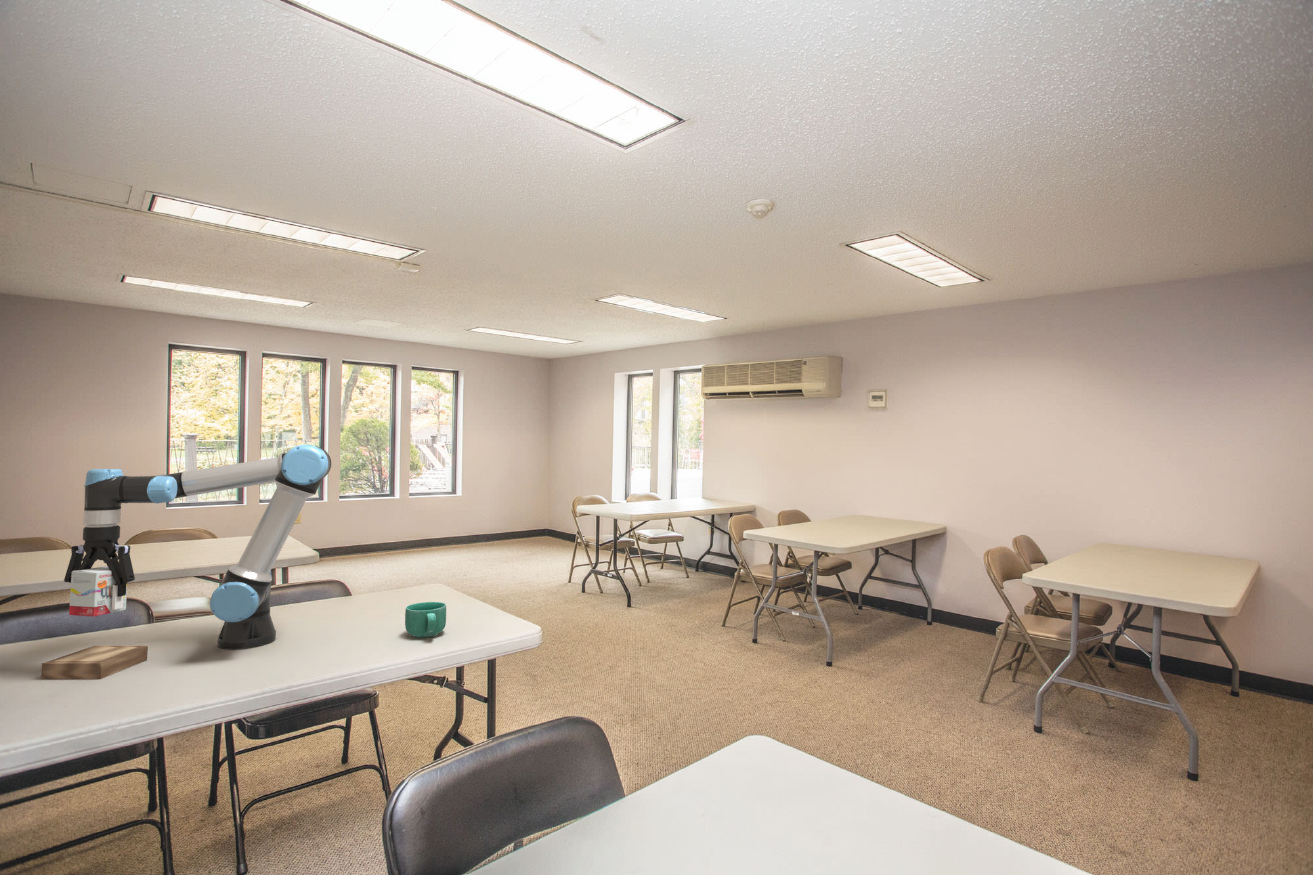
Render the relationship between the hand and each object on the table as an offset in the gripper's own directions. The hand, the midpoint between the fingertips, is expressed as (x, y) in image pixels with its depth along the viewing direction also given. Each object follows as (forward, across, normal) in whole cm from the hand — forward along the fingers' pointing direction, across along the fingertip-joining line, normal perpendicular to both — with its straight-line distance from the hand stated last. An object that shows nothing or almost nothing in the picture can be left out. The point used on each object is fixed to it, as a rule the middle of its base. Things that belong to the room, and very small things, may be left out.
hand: (98, 608), depth 166 cm
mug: (+16, -78, -30) cm, 85 cm away
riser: (+16, 0, 0) cm, 16 cm away
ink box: (+1, 0, 0) cm, 1 cm away
